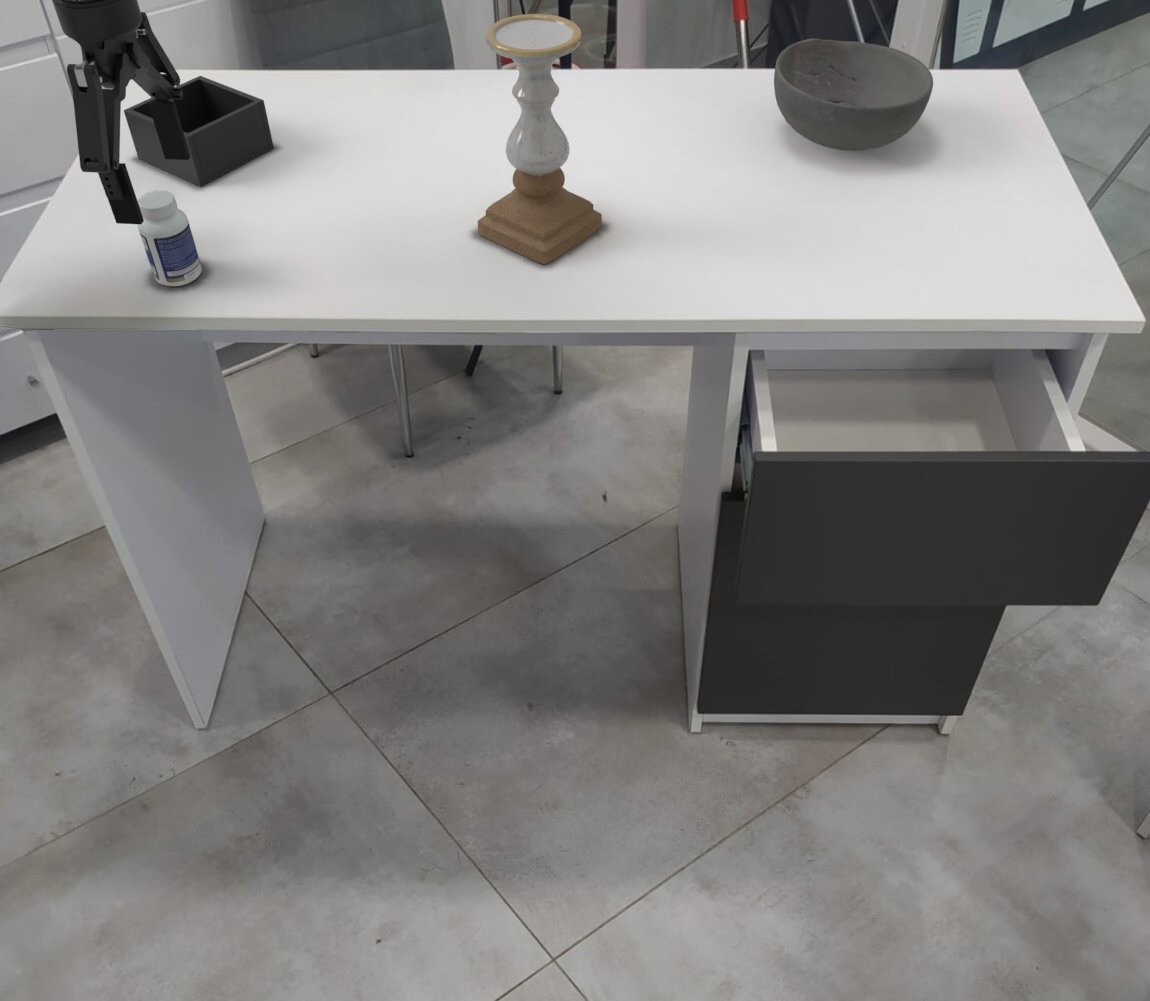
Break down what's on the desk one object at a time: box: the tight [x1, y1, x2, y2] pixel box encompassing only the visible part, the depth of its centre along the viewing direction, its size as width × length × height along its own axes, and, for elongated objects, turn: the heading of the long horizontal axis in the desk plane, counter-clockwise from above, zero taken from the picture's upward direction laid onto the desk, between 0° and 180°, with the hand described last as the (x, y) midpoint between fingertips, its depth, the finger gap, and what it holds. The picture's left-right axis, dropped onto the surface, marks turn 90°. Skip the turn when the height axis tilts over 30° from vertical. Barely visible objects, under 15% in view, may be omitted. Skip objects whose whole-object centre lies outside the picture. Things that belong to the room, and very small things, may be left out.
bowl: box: [773, 38, 934, 152], centre depth 147 cm, size 20×20×10 cm
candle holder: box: [477, 13, 603, 265], centre depth 126 cm, size 11×11×24 cm
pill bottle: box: [137, 189, 203, 287], centre depth 125 cm, size 5×5×10 cm
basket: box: [123, 75, 275, 188], centre depth 146 cm, size 13×13×7 cm
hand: (155, 189), depth 121 cm, fingers open, 13 cm apart
